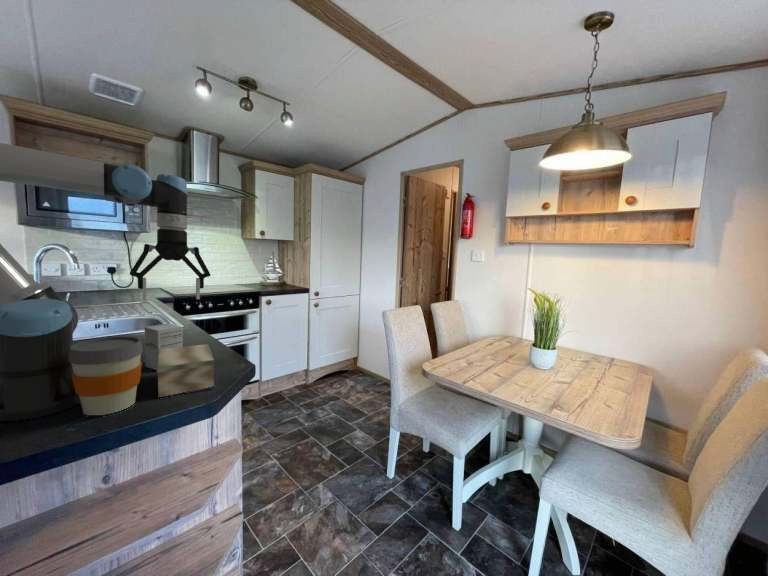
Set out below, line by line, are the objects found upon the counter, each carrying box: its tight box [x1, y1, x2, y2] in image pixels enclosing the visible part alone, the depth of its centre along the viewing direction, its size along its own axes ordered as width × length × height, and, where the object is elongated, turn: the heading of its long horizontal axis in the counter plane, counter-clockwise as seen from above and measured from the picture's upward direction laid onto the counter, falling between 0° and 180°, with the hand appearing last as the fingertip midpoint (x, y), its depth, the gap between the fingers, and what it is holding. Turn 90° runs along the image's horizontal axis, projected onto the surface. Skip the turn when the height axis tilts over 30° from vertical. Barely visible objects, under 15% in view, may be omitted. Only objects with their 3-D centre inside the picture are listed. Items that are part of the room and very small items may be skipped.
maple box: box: [156, 343, 215, 398], centre depth 87 cm, size 12×16×8 cm
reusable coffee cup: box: [69, 335, 144, 415], centre depth 72 cm, size 12×13×15 cm
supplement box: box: [144, 322, 184, 371], centre depth 98 cm, size 7×7×13 cm
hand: (172, 299), depth 98 cm, fingers open, 13 cm apart
